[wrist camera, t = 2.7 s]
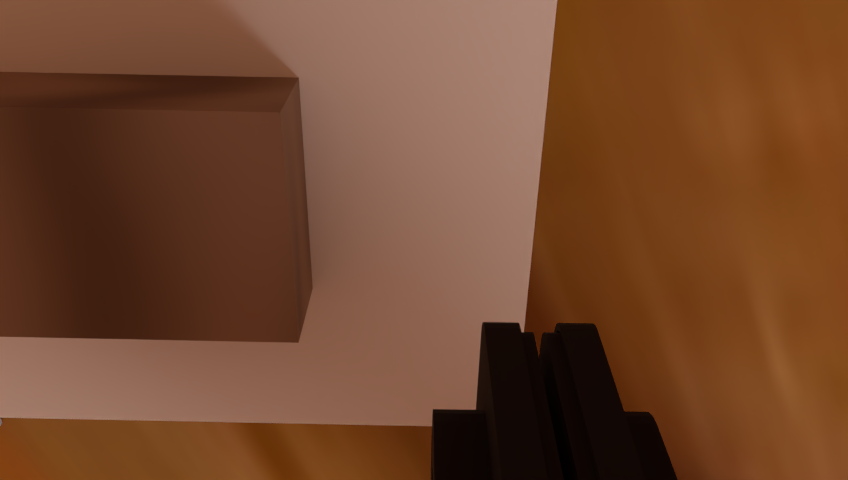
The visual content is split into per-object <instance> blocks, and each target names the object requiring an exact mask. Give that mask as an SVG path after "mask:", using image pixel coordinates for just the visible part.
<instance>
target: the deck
mask: <svg viewBox="0 0 848 480" xmlns="http://www.w3.org/2000/svg"><path fill="white" fill-rule="evenodd" d="M556 6H557V0H0V72H36V73H87V74H138V75H190V76H241V77H292V78H299V88H300V103H301V118H302V133H303V148H304V164H305V179H306V194H307V209H308V225H309V240H310V255H311V270H312V285H313V289H312V293H311V297H310V301H309V305H308V308H307V312H306V316H305V320H304V324H303V328H302V331H301V335H300V339H299V343H288V342H238V341H188V340H139V339H89V338H39V337H0V418H46V419H96V420H145V421H195V422H244V423H294V424H343V425H393V426H432V414H433V409H457V410H476V400H477V385H478V371H479V356H480V342H481V329H482V323H483V322H515V323H519V324H520V328H521V332H524V326H525V316H526V306H527V296H528V286H529V276H530V266H531V256H532V246H533V236H534V226H535V216H536V206H537V196H538V186H539V176H540V166H541V156H542V146H543V136H544V126H545V116H546V106H547V96H548V86H549V76H550V66H551V56H552V46H553V36H554V26H555V16H556Z"/></svg>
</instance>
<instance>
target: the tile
mask: <svg viewBox="0 0 848 480" xmlns="http://www.w3.org/2000/svg"><path fill="white" fill-rule="evenodd" d="M312 289H313V285H312V270H311V255H310V240H309V225H308V209H307V194H306V179H305V164H304V148H303V133H302V118H301V103H300V88H299V78H292V77H241V76H190V75H138V74H87V73H36V72H0V337H39V338H89V339H139V340H188V341H238V342H288V343H299V339H300V335H301V331H302V328H303V324H304V320H305V316H306V312H307V308H308V305H309V301H310V297H311V293H312Z"/></svg>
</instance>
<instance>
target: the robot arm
mask: <svg viewBox="0 0 848 480" xmlns="http://www.w3.org/2000/svg"><path fill="white" fill-rule="evenodd" d="M431 480H677V477H676V475H675V472H674V469H673V467H672V464H671V461H670V459H669V456H668V453H667V451H666V448H665V445H664V443H663V440H662V437H661V434H660V432H659V429H658V426H657V424H656V422H655V420H654V418H653V416H652V415H651V414H650V413H649V412H624V410H623V407H622V404H621V401H620V398H619V395H618V392H617V389H616V385H615V382H614V379H613V376H612V373H611V370H610V367H609V364H608V361H607V358H606V355H605V352H604V349H603V346H602V343H601V340H600V337H599V334H598V330H597V328H596V326H595V325H594V324H588V323H557V324H556V327H555V331H554V333H546V332H544V333H543V335H542V339H541V346H540V355H539V357H538V352H537V347H536V342H535V337H534V334H533V332H521V328H520V324H519V323H515V322H483V323H482V329H481V342H480V356H479V371H478V385H477V400H476V410H457V409H433V414H432V445H431Z"/></svg>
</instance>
